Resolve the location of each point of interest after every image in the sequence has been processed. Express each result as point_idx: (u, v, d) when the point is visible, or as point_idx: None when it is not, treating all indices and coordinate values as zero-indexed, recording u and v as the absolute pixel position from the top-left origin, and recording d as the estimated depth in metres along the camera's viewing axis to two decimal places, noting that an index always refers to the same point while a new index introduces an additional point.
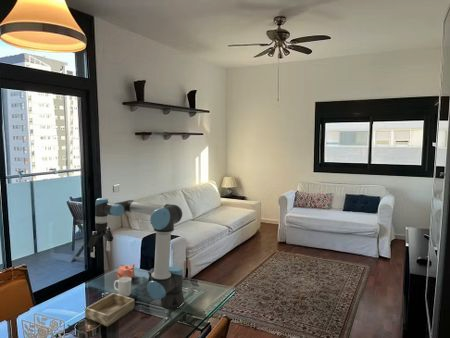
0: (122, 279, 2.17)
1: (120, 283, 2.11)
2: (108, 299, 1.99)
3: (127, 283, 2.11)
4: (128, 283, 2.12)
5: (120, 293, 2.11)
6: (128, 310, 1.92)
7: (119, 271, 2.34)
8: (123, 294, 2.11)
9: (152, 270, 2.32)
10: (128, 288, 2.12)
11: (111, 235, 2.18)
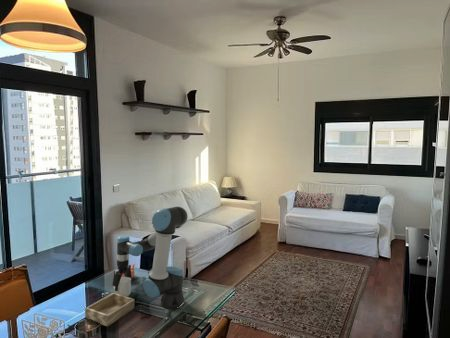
0: (122, 279, 2.17)
1: (119, 283, 2.10)
2: (108, 299, 1.99)
3: (126, 283, 2.11)
4: (127, 283, 2.11)
5: (120, 293, 2.11)
6: (128, 310, 1.92)
7: None
8: (122, 294, 2.10)
9: None
10: (128, 288, 2.12)
11: (130, 273, 2.20)
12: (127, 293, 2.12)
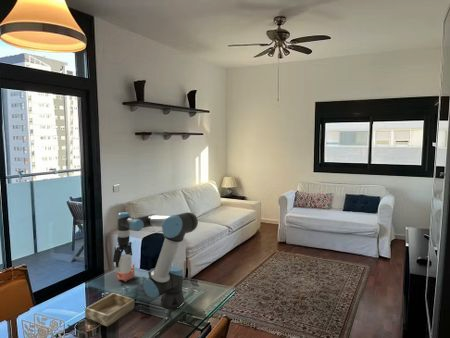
0: (122, 256, 2.15)
1: (120, 259, 2.09)
2: (108, 299, 1.99)
3: (127, 260, 2.09)
4: (128, 260, 2.10)
5: (120, 270, 2.09)
6: (128, 310, 1.92)
7: None
8: (123, 271, 2.09)
9: (152, 270, 2.32)
10: (128, 265, 2.10)
11: (131, 251, 2.19)
12: (128, 270, 2.10)
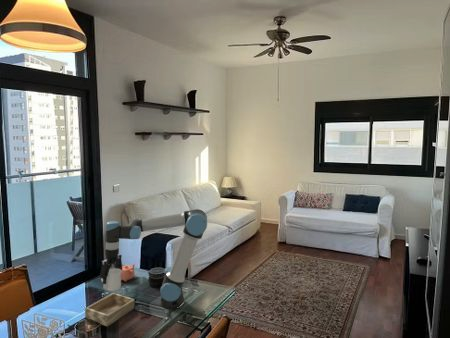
0: (111, 271, 1.91)
1: (108, 275, 1.84)
2: (108, 299, 1.99)
3: (116, 275, 1.85)
4: (117, 275, 1.85)
5: (108, 286, 1.85)
6: (128, 310, 1.92)
7: None
8: (111, 288, 1.85)
9: (152, 270, 2.32)
10: (117, 281, 1.86)
11: (121, 264, 1.94)
12: (117, 286, 1.86)
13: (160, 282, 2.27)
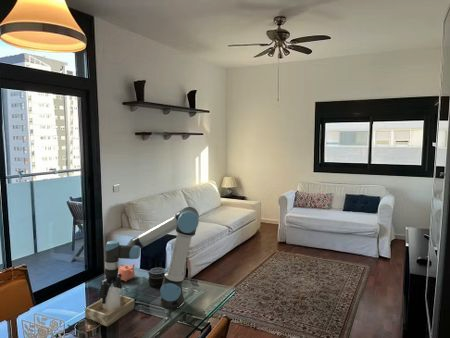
0: (110, 290, 1.92)
1: (107, 295, 1.85)
2: None
3: (115, 295, 1.86)
4: (117, 295, 1.86)
5: (107, 306, 1.86)
6: (128, 310, 1.92)
7: (119, 271, 2.34)
8: (111, 307, 1.86)
9: (152, 270, 2.32)
10: (117, 300, 1.87)
11: (120, 283, 1.95)
12: (116, 306, 1.87)
13: (160, 282, 2.27)
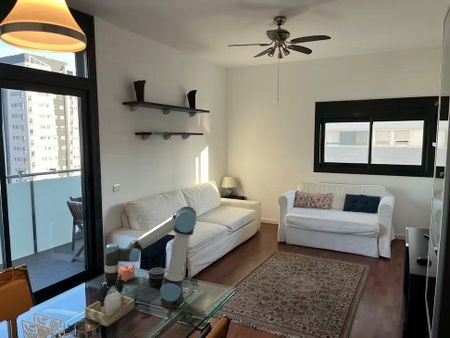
0: (110, 296, 1.92)
1: (108, 301, 1.86)
2: None
3: (115, 301, 1.86)
4: (117, 301, 1.87)
5: (108, 312, 1.86)
6: (128, 310, 1.92)
7: (119, 271, 2.34)
8: None
9: (152, 270, 2.32)
10: (117, 307, 1.87)
11: (121, 284, 1.96)
12: None
13: (160, 282, 2.27)
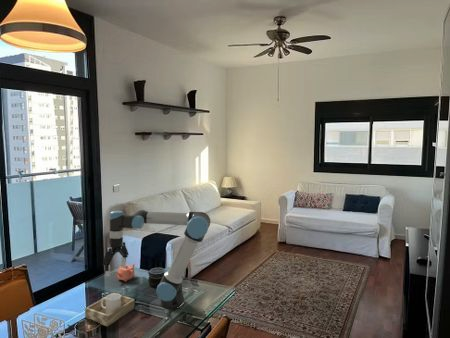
0: (110, 296, 1.92)
1: (108, 301, 1.86)
2: None
3: (116, 301, 1.86)
4: (117, 301, 1.87)
5: (108, 312, 1.86)
6: (128, 310, 1.92)
7: (119, 271, 2.34)
8: None
9: (152, 270, 2.32)
10: (117, 307, 1.87)
11: (126, 250, 2.00)
12: None
13: None
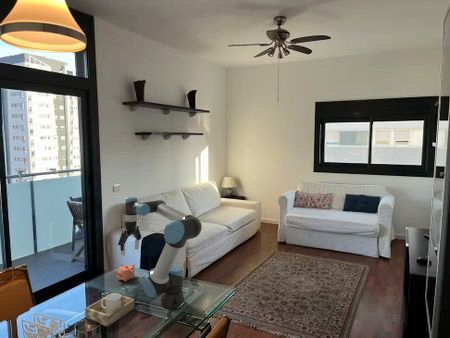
0: (110, 296, 1.92)
1: (108, 301, 1.86)
2: None
3: (116, 301, 1.86)
4: (117, 301, 1.87)
5: (108, 312, 1.86)
6: (128, 310, 1.92)
7: (119, 271, 2.34)
8: None
9: None
10: (117, 307, 1.87)
11: (139, 234, 2.19)
12: None
13: None
